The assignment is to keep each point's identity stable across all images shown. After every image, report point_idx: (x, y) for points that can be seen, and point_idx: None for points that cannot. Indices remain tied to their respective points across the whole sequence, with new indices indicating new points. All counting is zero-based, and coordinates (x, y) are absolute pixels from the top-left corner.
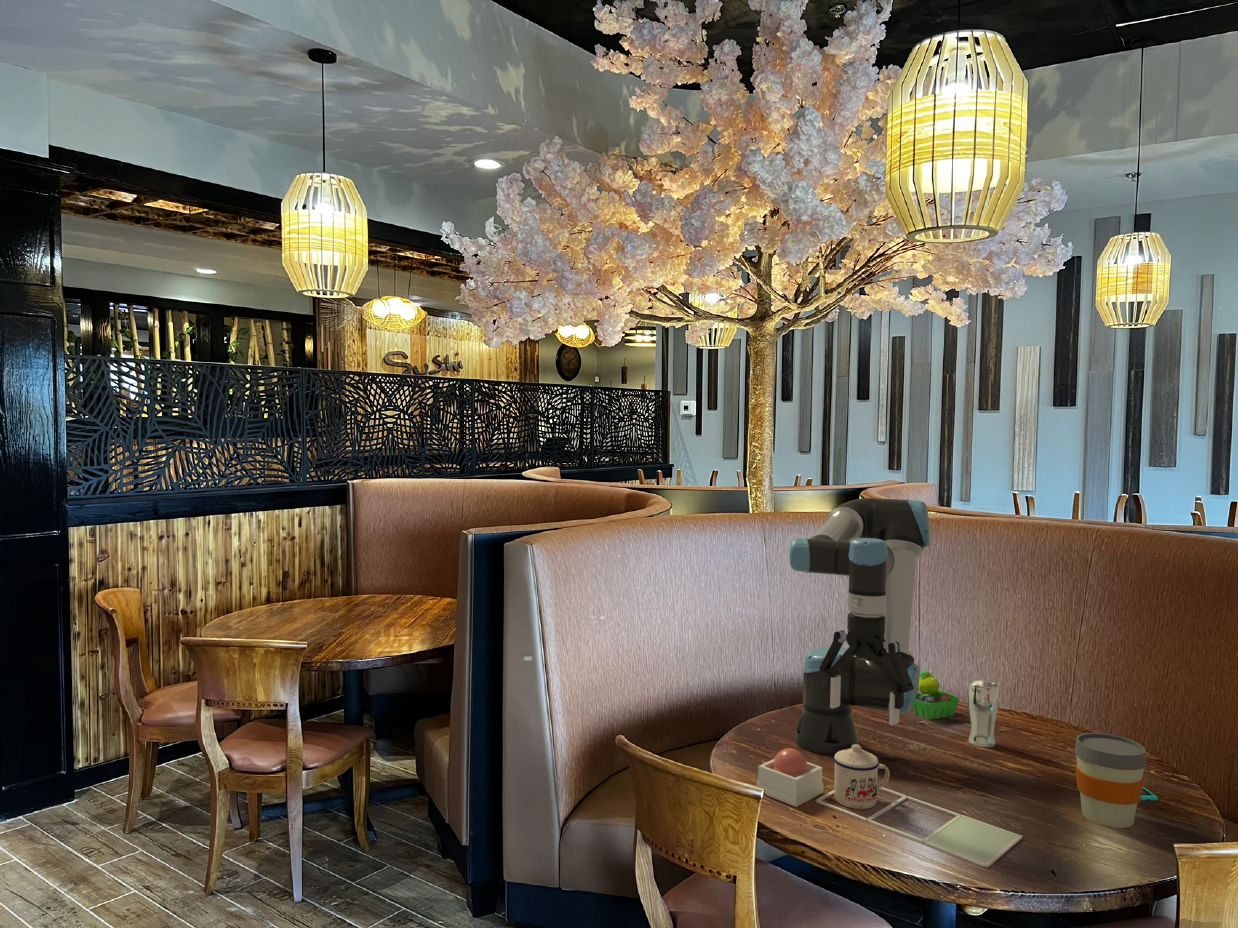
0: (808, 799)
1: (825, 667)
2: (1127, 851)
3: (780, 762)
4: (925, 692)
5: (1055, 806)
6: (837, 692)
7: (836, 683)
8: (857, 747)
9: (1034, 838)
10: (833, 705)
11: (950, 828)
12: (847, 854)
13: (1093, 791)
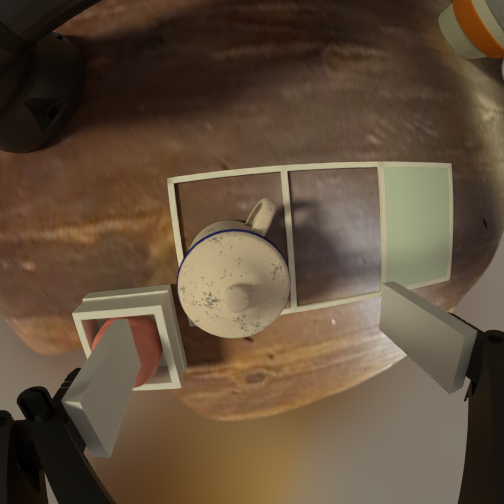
0: (179, 330)
1: (45, 482)
2: (499, 113)
3: None
4: None
5: (423, 35)
6: (117, 374)
7: (107, 414)
8: (246, 308)
9: (455, 152)
10: (138, 370)
11: (391, 221)
12: (325, 394)
13: (490, 52)
